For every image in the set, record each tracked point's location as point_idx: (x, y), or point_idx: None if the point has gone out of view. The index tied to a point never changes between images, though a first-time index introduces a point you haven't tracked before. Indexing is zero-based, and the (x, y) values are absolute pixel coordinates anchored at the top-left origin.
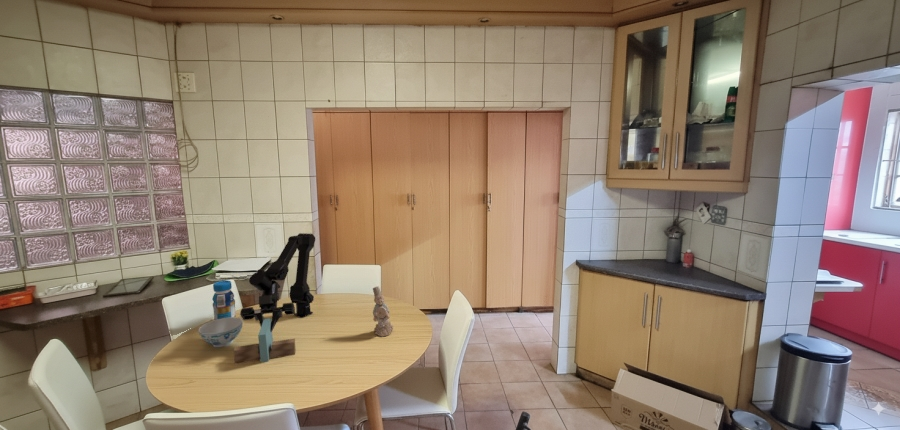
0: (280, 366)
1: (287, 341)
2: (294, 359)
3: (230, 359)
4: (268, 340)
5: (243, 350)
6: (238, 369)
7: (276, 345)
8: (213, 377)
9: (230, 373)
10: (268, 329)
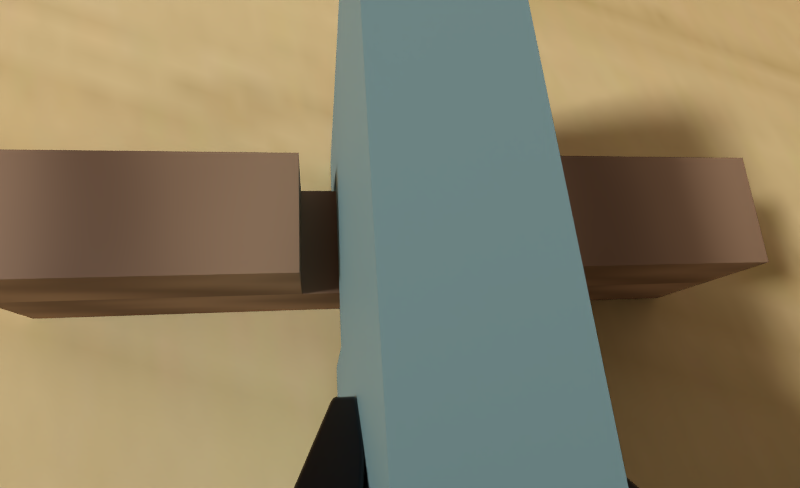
0: (194, 31)
1: (53, 203)
2: (52, 114)
3: (719, 319)
4: (343, 167)
5: (632, 163)
6: (567, 106)
7: (226, 159)
8: (712, 52)
9: (608, 65)
10: (358, 156)
